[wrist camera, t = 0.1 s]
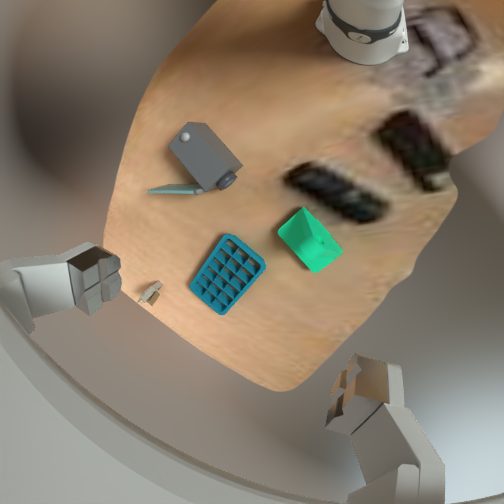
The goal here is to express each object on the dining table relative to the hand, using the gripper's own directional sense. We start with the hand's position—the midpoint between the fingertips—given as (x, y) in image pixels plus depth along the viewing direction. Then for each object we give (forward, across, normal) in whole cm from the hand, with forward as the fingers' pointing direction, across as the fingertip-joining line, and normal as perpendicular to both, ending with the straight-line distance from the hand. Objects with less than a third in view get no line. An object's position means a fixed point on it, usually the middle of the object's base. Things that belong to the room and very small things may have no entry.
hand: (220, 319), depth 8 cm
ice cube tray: (+48, +16, +29) cm, 59 cm away
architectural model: (+49, +37, +43) cm, 75 cm away
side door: (+48, +29, +11) cm, 57 cm away
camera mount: (+48, 0, +14) cm, 50 cm away
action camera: (+48, +24, +3) cm, 54 cm away
